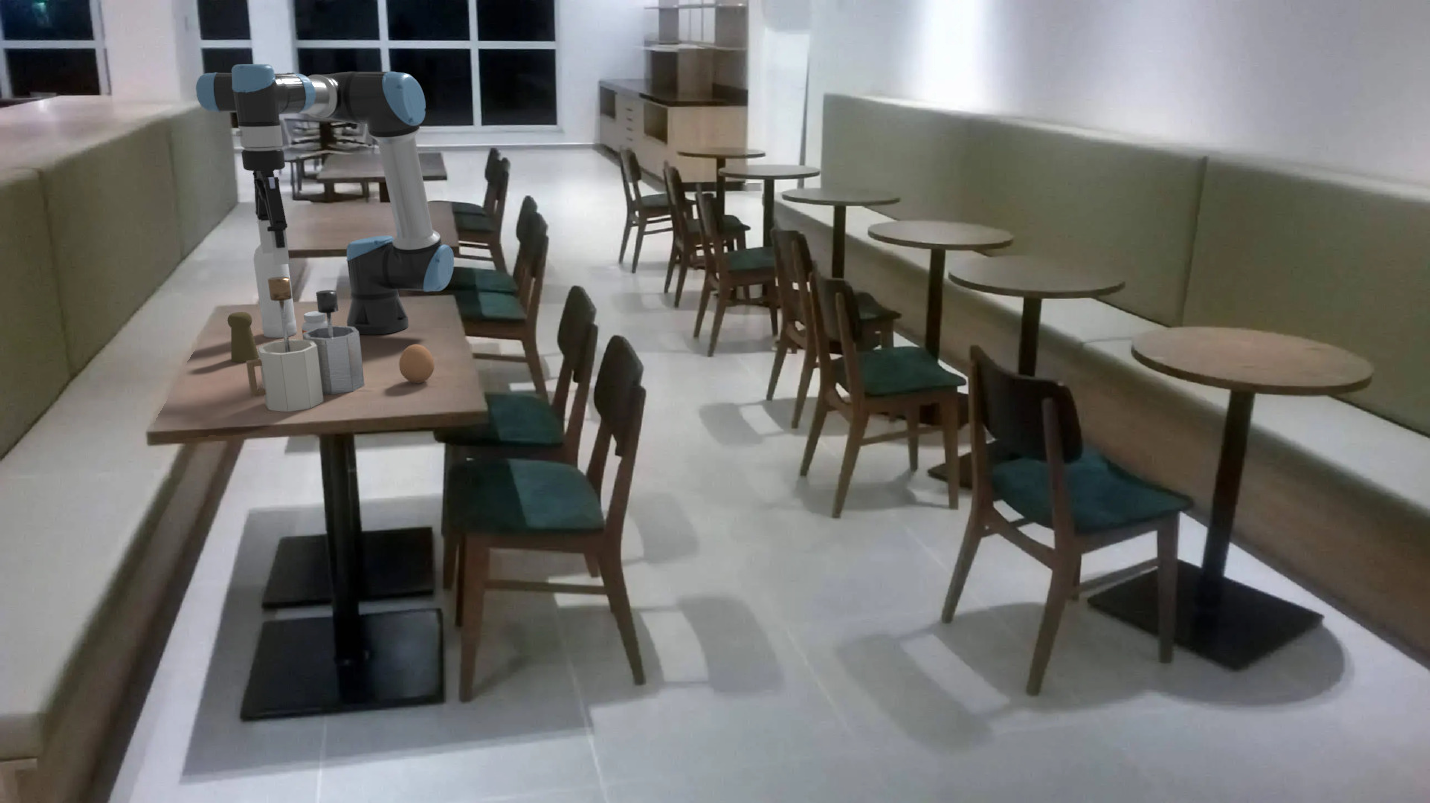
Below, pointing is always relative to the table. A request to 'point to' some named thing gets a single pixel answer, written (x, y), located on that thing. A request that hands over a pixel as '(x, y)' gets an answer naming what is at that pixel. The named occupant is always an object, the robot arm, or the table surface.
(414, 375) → the egg
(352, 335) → the grey octagonal container
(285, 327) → the plunger
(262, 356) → the white faceted mug
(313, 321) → the pill bottle
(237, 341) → the cork
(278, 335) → the bottle
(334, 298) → the plunger
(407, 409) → the table surface
